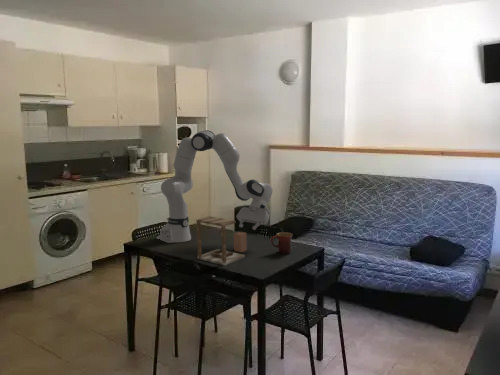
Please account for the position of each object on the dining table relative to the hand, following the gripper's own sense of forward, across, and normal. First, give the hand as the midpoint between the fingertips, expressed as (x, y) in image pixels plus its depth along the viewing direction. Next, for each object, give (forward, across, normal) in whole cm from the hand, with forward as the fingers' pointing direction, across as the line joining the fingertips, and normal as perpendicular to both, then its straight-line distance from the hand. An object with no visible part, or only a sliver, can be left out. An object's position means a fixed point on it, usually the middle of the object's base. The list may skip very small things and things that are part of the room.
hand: (246, 227), depth 242 cm
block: (+13, 0, +4) cm, 13 cm away
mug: (+6, +21, +11) cm, 24 cm away
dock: (+24, 0, -8) cm, 25 cm away
